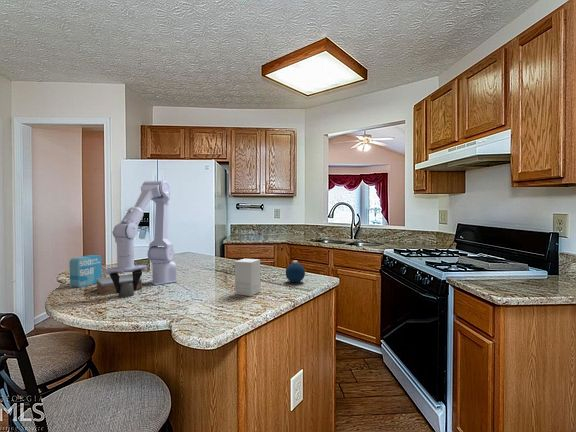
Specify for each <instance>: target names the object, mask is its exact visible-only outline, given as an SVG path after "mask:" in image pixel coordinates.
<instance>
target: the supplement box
mask: <svg viewBox="0 0 576 432" xmlns="http://www.w3.org/2000/svg"><path fill="white" fill-rule="evenodd" d="M261 289H262V288H261V259H260V258H259V259H257V258H256V259H255V258H243V259H242V258H241V259H239V260H235V261H234V290H235V291H234V293H235V295H240V296H248V297H252V296H254V294H255V295H257V294H259V293H261V292H260V291H262V290H261ZM258 292H259V293H258ZM256 293H257V294H256Z"/></svg>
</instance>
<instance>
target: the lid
mask: <svg viewBox="0 0 576 432" xmlns="http://www.w3.org/2000/svg"><path fill="white" fill-rule="evenodd" d="M119 276H120V277H119V282H122V281H133V275H132V273H131V274H130V273H129V274H124V275H119ZM97 281H98V282H99V283H100V284H101V285H102V286H107V285H114V283H113V281H112V279H111V277H110V276H108V277H102V278H97ZM139 281H142V277H140V279H139Z"/></svg>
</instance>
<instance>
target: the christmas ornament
mask: <svg viewBox="0 0 576 432" xmlns="http://www.w3.org/2000/svg"><path fill="white" fill-rule="evenodd" d="M305 276H306V270H305V268H304V266H303V265H302V264H300V263H299V262H298V260H292V263H291V264H289V265H287V267H286V269H285V277H286V279H287V280H288V281H289V282H291V283H293V282H294V283H297V284H298V283H299V282H302V281H303V279H304V278H305Z"/></svg>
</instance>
